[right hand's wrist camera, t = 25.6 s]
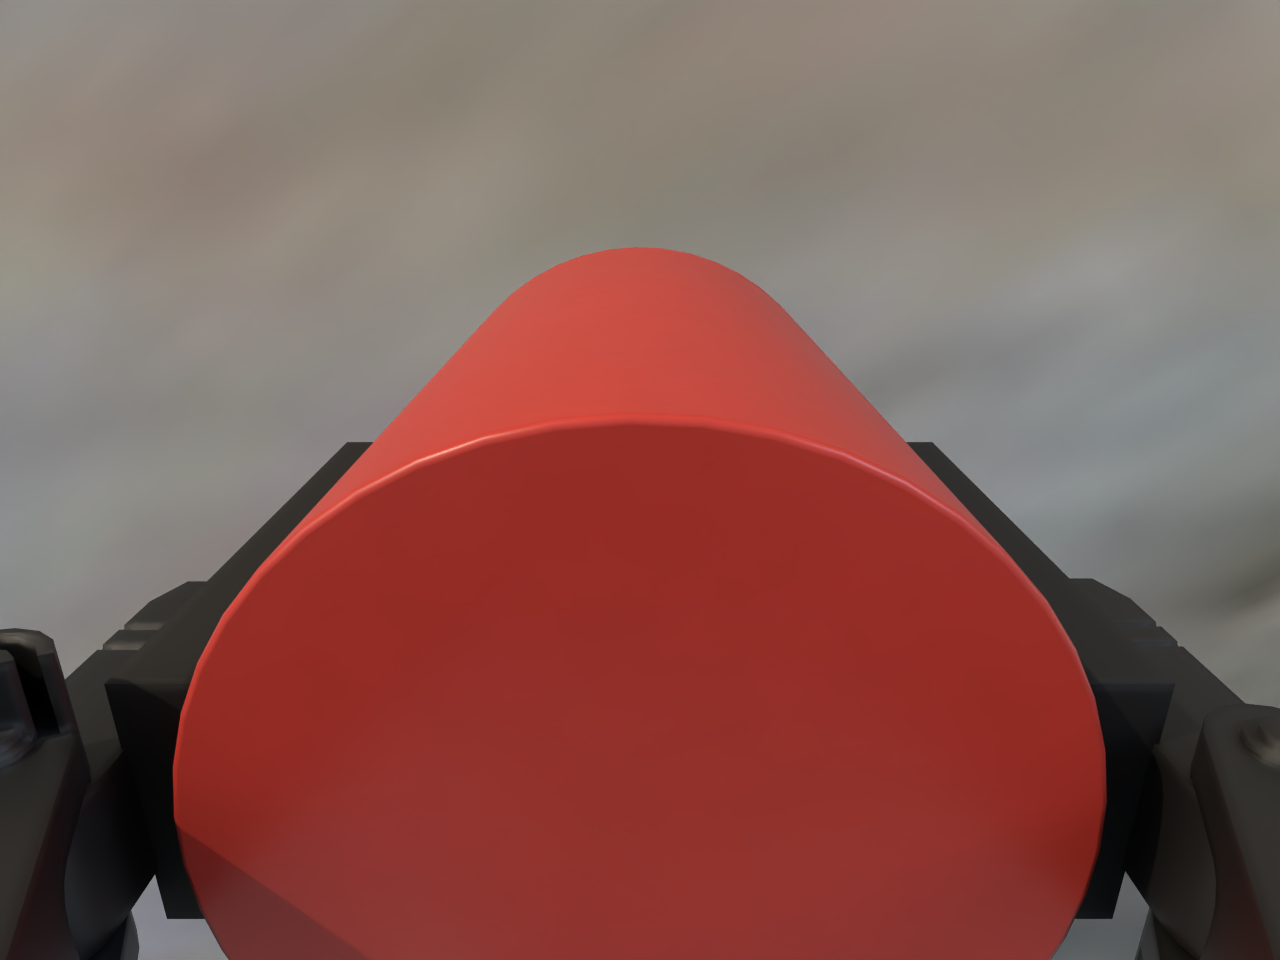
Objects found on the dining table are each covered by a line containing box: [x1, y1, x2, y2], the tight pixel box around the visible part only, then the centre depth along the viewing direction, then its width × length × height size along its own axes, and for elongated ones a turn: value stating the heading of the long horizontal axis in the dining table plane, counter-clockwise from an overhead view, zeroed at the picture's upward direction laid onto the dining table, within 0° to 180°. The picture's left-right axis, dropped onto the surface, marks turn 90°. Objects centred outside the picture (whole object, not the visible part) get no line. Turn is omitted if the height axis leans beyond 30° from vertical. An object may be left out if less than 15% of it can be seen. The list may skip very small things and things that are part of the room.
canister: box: [173, 247, 1107, 960], centre depth 12 cm, size 8×8×11 cm
